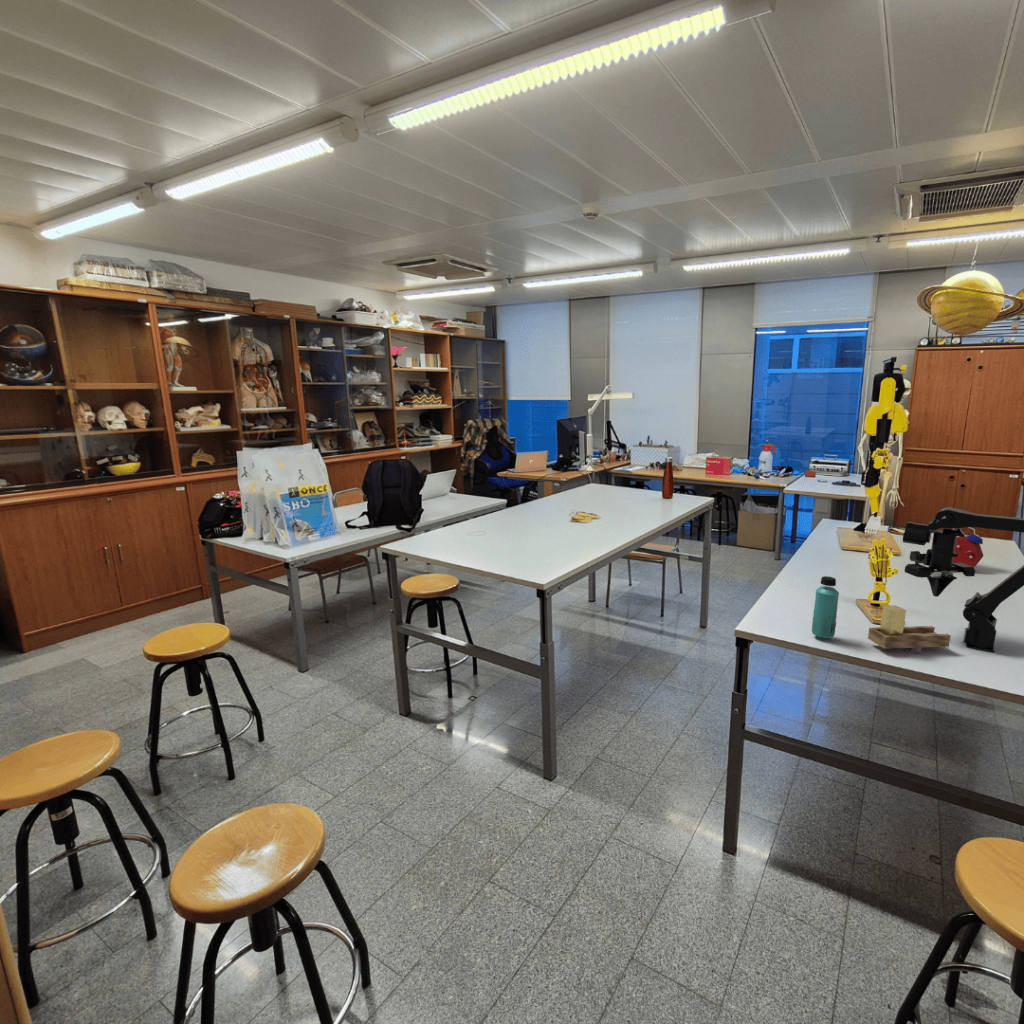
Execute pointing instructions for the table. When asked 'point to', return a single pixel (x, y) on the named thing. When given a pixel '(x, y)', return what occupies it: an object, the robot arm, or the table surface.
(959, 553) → the alarm clock
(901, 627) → the beige upright block
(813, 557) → the table surface
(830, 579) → the beverage bottle
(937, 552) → the robot arm
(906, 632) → the wooden footed tray
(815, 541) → the table surface
